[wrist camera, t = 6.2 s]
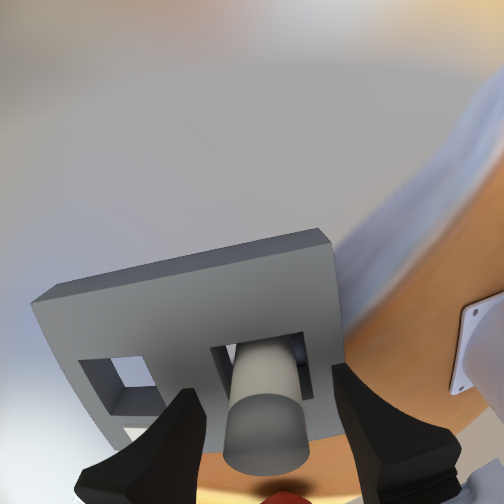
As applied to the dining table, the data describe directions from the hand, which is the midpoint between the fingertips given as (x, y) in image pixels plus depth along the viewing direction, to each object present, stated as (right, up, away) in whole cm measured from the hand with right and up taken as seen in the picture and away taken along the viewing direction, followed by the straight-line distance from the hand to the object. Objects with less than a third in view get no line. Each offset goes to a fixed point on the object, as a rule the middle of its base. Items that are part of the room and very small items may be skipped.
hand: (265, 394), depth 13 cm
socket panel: (-4, 0, +5) cm, 6 cm away
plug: (0, +1, +4) cm, 4 cm away
